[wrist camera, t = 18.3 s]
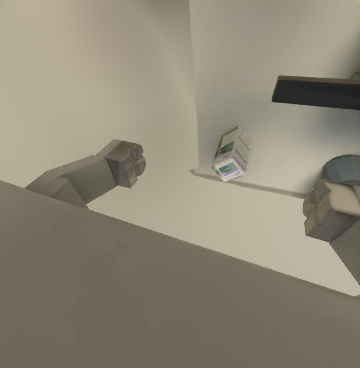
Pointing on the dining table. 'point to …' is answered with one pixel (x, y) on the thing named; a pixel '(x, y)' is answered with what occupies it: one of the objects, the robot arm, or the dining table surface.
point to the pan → (318, 92)
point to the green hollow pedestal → (356, 76)
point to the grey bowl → (343, 170)
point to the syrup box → (232, 155)
